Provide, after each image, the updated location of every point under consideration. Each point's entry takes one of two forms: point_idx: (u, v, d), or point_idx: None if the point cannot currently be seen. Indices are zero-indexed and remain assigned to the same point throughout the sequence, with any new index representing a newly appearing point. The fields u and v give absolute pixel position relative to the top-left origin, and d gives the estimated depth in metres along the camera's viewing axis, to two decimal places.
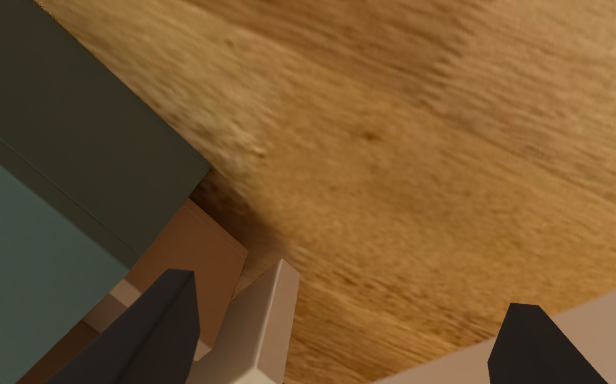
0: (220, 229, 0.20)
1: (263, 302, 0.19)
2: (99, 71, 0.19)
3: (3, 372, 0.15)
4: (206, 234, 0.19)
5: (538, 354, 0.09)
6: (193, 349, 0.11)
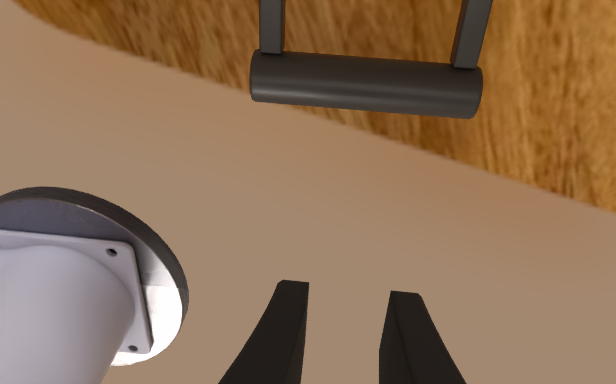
0: None
1: None
2: None
3: None
4: None
5: (399, 339, 0.09)
6: (302, 361, 0.11)
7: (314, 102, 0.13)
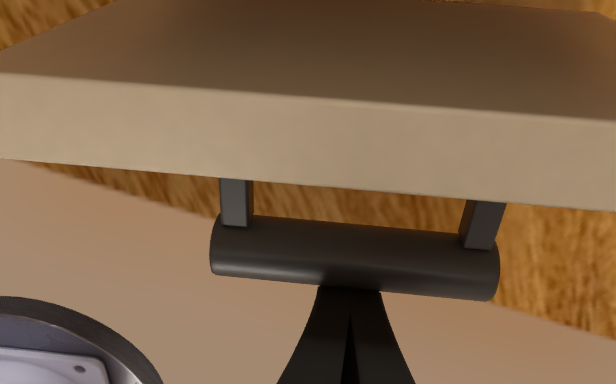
0: None
1: None
2: None
3: None
4: None
5: (351, 334, 0.09)
6: None
7: None
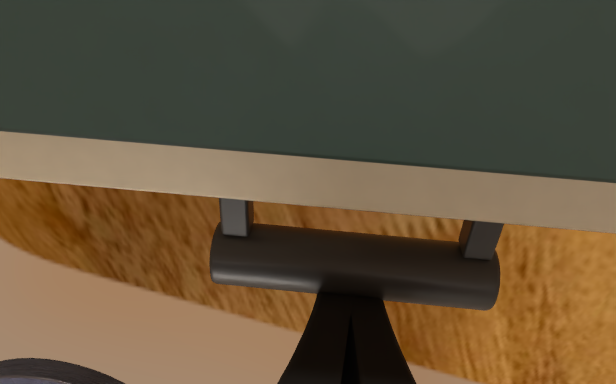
0: None
1: None
2: None
3: (374, 117, 0.04)
4: None
5: (352, 334, 0.09)
6: None
7: (290, 290, 0.10)
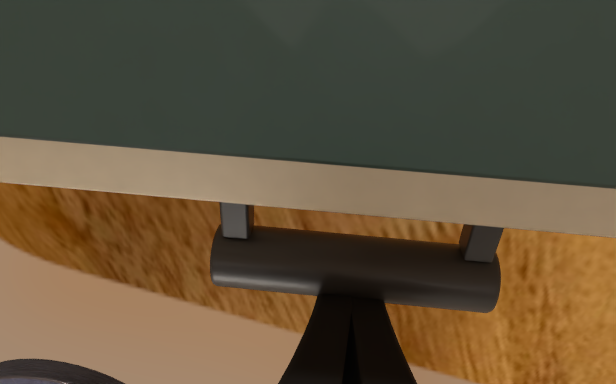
0: None
1: None
2: None
3: (374, 122, 0.04)
4: None
5: (353, 334, 0.09)
6: None
7: None
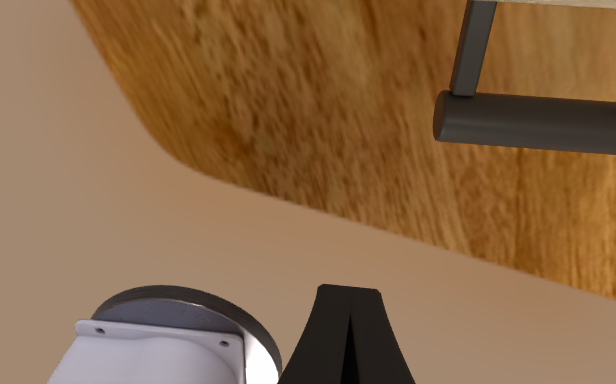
0: None
1: None
2: None
3: None
4: None
5: (351, 334, 0.09)
6: None
7: (503, 143, 0.13)
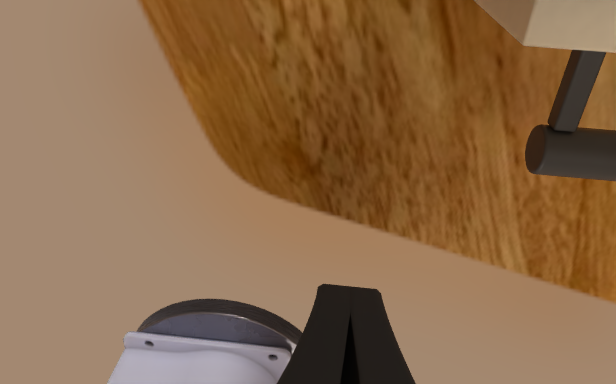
0: None
1: None
2: None
3: None
4: None
5: (351, 334, 0.09)
6: None
7: (600, 177, 0.13)
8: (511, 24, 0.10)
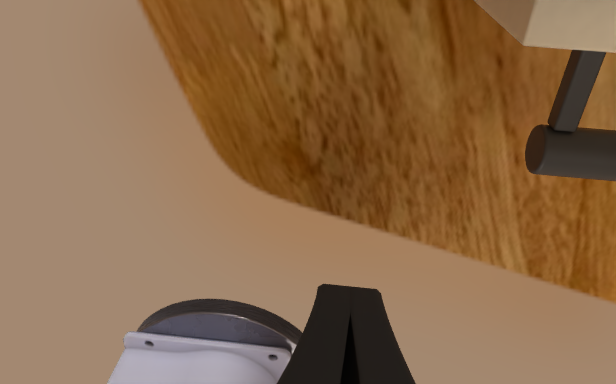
0: None
1: None
2: None
3: None
4: None
5: (351, 334, 0.09)
6: None
7: (600, 177, 0.13)
8: (511, 24, 0.10)
